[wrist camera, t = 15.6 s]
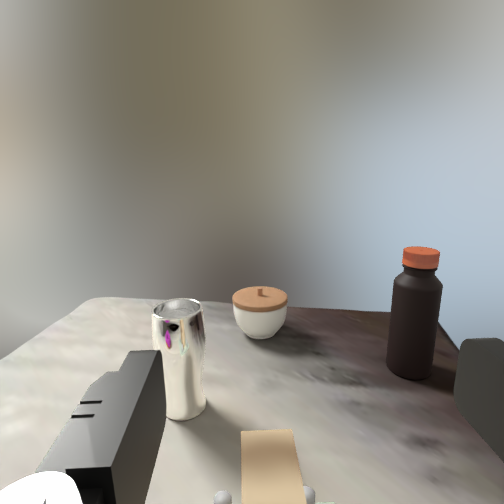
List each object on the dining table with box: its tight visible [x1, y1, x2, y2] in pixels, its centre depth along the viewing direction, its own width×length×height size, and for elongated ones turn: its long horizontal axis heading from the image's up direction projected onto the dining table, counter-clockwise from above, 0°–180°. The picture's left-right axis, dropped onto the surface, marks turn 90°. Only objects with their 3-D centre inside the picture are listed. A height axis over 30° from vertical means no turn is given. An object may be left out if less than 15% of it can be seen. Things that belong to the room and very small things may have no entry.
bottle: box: [386, 247, 443, 380], centre depth 54 cm, size 7×7×20 cm
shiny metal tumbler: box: [151, 298, 206, 421], centre depth 47 cm, size 7×7×15 cm
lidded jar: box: [233, 287, 287, 339], centre depth 69 cm, size 11×11×9 cm
